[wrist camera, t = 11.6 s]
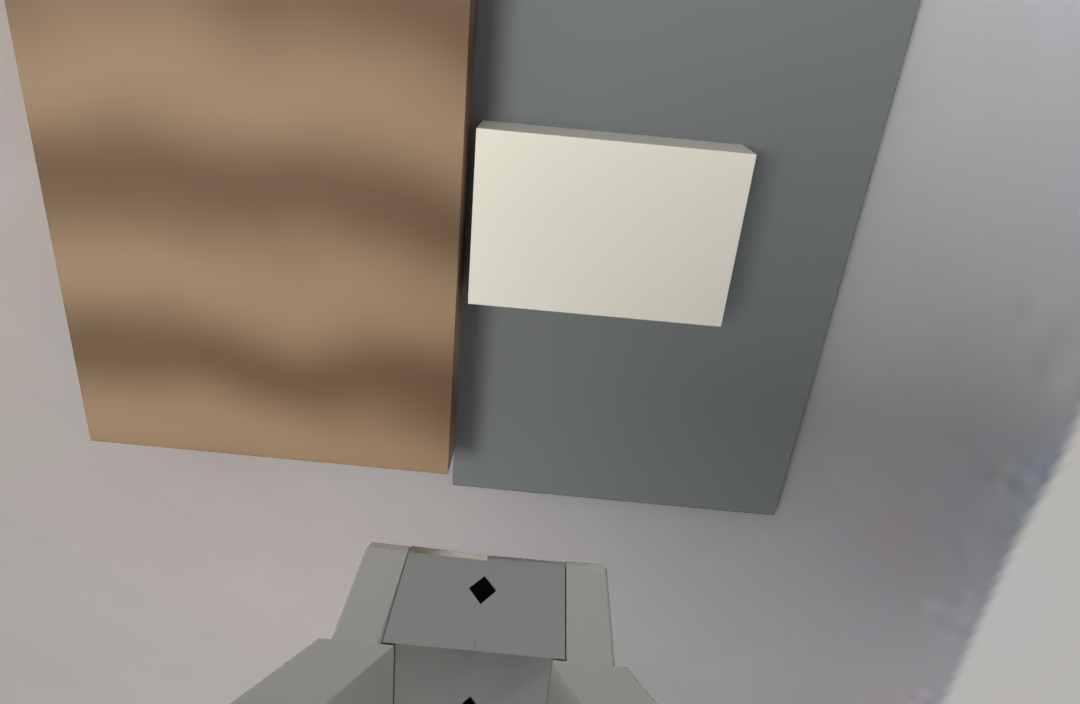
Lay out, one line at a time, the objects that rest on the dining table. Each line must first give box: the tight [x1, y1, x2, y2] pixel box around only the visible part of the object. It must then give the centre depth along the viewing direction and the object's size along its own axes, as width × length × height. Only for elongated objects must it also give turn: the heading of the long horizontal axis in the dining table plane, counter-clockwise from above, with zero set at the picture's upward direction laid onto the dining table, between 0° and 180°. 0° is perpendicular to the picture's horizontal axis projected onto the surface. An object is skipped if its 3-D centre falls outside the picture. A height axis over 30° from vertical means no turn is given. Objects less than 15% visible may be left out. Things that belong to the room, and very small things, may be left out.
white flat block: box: [468, 120, 757, 327], centre depth 25 cm, size 6×9×2 cm, turn 85°
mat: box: [453, 0, 920, 515], centre depth 26 cm, size 24×14×1 cm, turn 175°
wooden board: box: [5, 0, 478, 474], centre depth 25 cm, size 20×14×2 cm
